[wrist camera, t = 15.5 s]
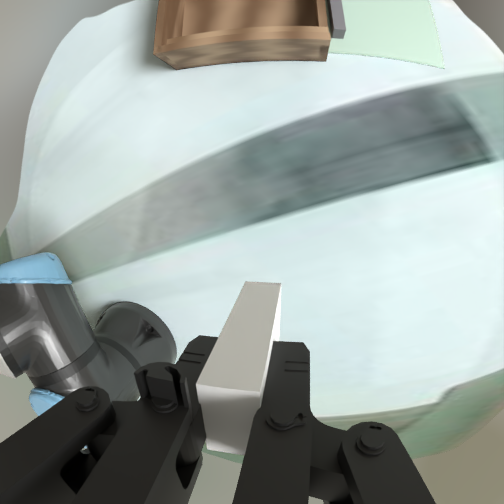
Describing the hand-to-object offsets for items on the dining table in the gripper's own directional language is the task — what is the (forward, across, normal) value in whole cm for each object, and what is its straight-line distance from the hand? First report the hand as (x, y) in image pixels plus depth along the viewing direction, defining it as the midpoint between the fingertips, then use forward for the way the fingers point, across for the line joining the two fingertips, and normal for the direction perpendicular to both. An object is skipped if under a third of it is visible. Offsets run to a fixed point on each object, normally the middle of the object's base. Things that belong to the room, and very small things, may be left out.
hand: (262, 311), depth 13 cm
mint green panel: (+27, +14, +28) cm, 41 cm away
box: (+26, -5, +28) cm, 39 cm away
